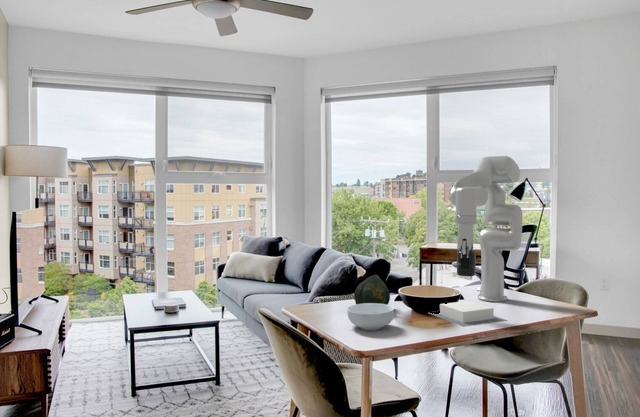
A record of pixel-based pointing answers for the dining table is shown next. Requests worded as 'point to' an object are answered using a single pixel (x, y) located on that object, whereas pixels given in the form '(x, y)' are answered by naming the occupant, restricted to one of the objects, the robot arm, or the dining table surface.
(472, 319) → the plinth block
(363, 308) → the cereal bowl
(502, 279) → the robot arm
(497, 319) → the mat
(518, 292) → the dining table surface
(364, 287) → the squash
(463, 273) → the supplement bottle
